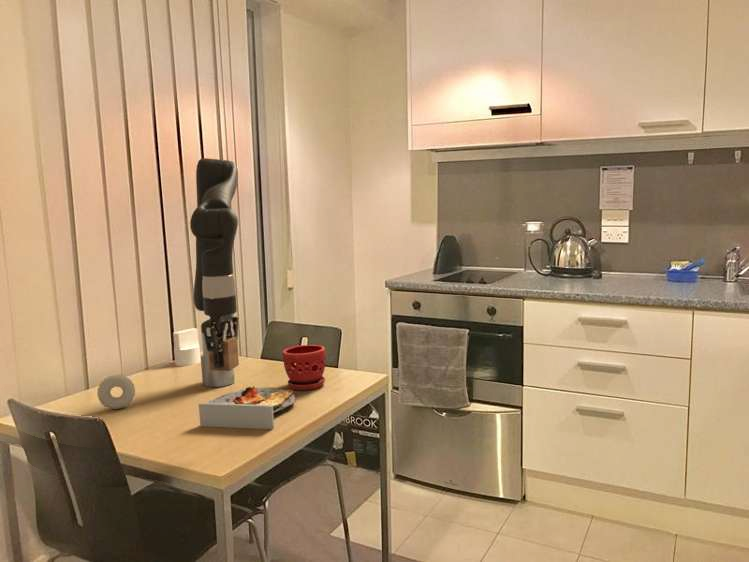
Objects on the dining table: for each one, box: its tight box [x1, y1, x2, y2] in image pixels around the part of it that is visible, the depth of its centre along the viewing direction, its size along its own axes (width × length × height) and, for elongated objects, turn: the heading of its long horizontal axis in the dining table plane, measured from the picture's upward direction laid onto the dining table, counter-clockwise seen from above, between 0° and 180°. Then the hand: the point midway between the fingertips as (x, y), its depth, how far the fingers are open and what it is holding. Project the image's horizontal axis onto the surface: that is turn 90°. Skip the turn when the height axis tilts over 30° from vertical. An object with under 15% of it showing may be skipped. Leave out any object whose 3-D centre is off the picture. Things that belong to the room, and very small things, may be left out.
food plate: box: [207, 386, 297, 414], centre depth 169 cm, size 25×23×4 cm
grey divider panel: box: [198, 402, 275, 430], centre depth 154 cm, size 20×1×6 cm, turn 78°
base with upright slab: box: [172, 327, 201, 367], centre depth 220 cm, size 9×9×12 cm
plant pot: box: [282, 344, 326, 391], centre depth 187 cm, size 13×13×12 cm
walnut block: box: [209, 337, 240, 371], centre depth 143 cm, size 5×5×7 cm
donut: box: [97, 374, 136, 410], centre depth 171 cm, size 10×4×10 cm, turn 110°
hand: (224, 363), depth 143 cm, fingers closed on walnut block, 5 cm apart
